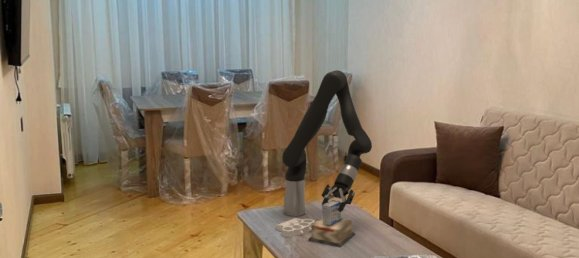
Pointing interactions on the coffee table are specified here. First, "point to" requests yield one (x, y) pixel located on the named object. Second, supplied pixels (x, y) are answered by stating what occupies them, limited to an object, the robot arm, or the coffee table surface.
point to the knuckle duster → (295, 227)
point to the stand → (332, 232)
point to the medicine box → (331, 213)
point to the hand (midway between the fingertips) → (331, 209)
